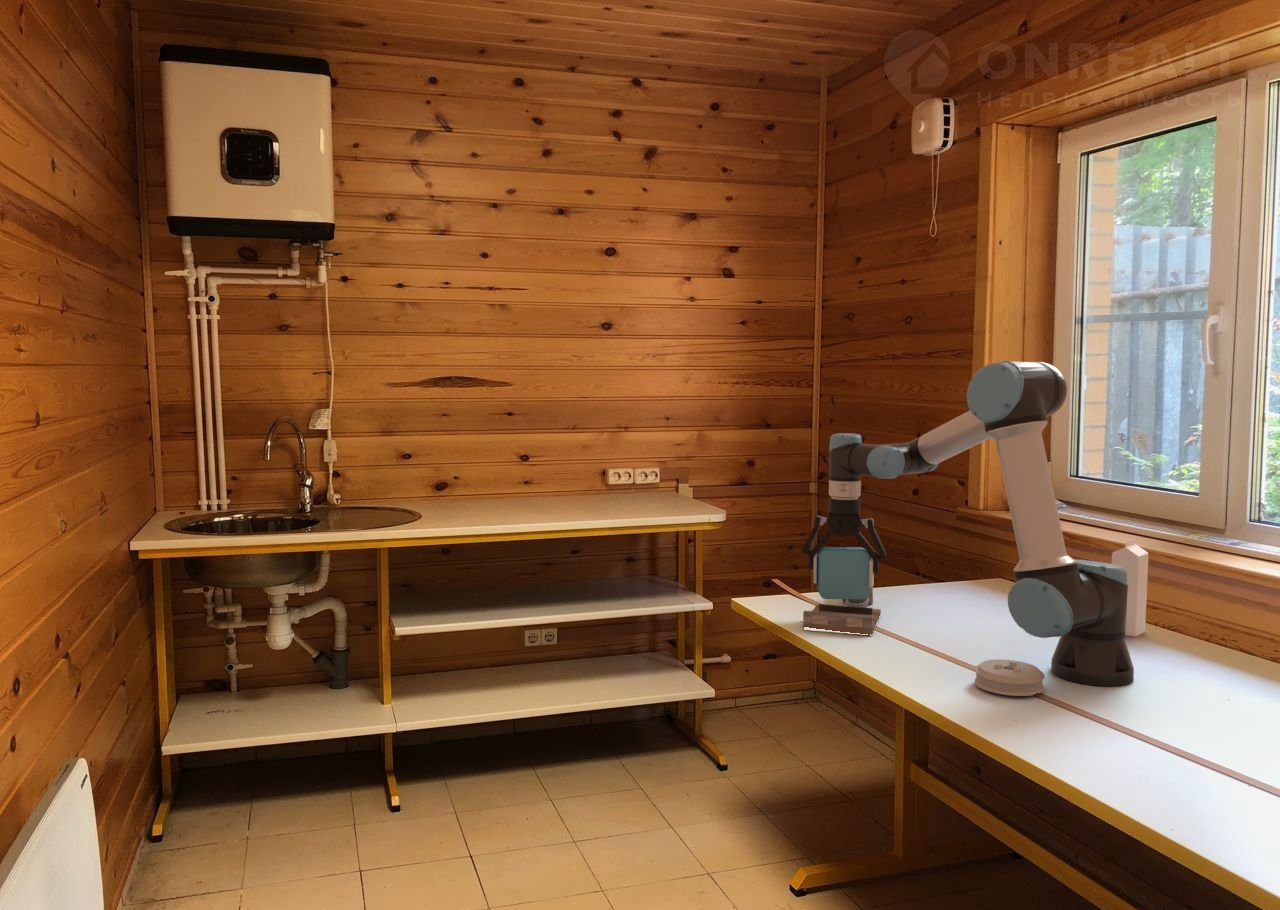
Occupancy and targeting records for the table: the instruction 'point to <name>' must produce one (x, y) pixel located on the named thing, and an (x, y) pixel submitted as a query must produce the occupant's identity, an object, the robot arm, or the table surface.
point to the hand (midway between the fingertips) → (843, 584)
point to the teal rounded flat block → (843, 573)
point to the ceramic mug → (860, 600)
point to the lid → (1009, 677)
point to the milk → (1134, 585)
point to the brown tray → (842, 618)
